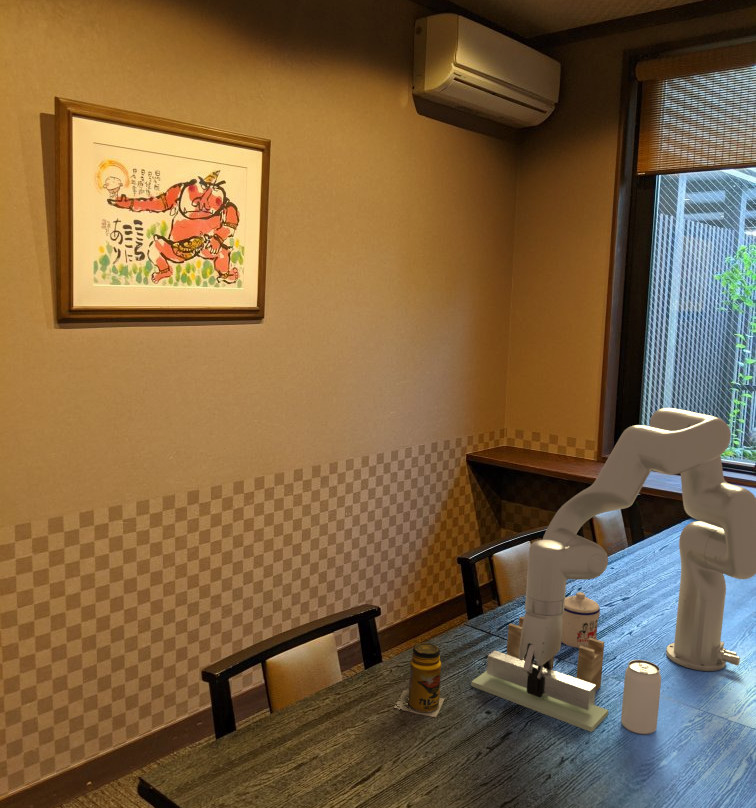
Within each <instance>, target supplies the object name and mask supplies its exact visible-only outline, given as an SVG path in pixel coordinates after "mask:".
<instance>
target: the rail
mask: <svg viewBox="0 0 756 808" xmlns="http://www.w3.org/2000/svg"><path fill="white" fill-rule="evenodd" d="M524 663H525V661H524V660H520V659H518V658H515V657H512V656H509V655H507V653H503V652H500V651H498V650H494V651H492V652H491V653H489V654H488V655H487V663H486V667H487V668H486V671H487V674H489V675H492V676H494V677H497V678H500V679H503V680H505V681H508V682H511V683H514V684H516V685H519V686H522V687H525V688H527V679H528V675H527V672H526V671H524V670H523V667H524ZM533 667H534V668H536V669H537V670H538V666H536V665H533ZM542 678H544V682H543V694H544V695H547V696H549V697H552V698H555V699H558V700H560V701H563V702H566V703H569V704H571V705H574V706H577V707H580V708H582V709H585V710H589V709H590V708H591V707H592V706H593V705H595V701H596V700H595V699H596V698H595V697H596V691H595V689H596V685H594V684H592V683H589V682H586V681H583V680H580V679H577V678H576V677H573V676H571V675H569V674H568V675H567V674H565V673H562V672H559V671H556V670H554V669H552V670H551V669H548V668H545V667H543V672H542Z"/></svg>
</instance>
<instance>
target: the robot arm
mask: <svg viewBox="0 0 756 808" xmlns="http://www.w3.org/2000/svg"><path fill="white" fill-rule="evenodd" d="M730 429H731V428H730V427H729V425H728V423H727V422H726V421H724V420H723V419H722V418H720V417H717V416H713V415H709V414H705V413H698V412H695V411H690V410H685V409H679V408H674V407H661V408H660V409H657V410H656V411H654V412H653V413H652V415H651V418H650V424H649V425H643V424H642V425H641V424H636V425H632V426H631V425H630V426H629V427H627V428H626V429H624V430H623V432H622V433H621V435H620V437H619V438H618V440H617V442H616V444H615V445H614V447H613V449H612V451H611V453H610V454H609V456H608V458H607V460H606V461H605V463H604V465H603V467H602V468H601V470H600V472H599V474H598V475H597V477H596V479H595V480H594V482H592V484H591V485H590V486H588V487H587V488H585V489H583V490H582V491H580V492H579V493H577V494H576V495H574V496H573V497H571V498H570V499H569V500H567V501H566V502H565V503H564V504H562V505H561V507H560V508H559V509H558V510H557V512H556V513H555V515H554V516H553V517H552V519H551V521H550V523H549V524H548V526H547V529H546V530H545V533H544V535H543V537H542V539H538V540H535V541H533V542H532V543H531V544H530V546H529V549H528V557H527V558H528V561H527V574H526V589H525V590H526V592H525V603H524V610H525V611H526V612H525V613H524V616H523V617H524V620H523V625H522V631H521V639H520V647H519V659H520V660H524V659H526V660H525V663H524V667H523V670H524V671H526V672H527V675H528V679H527V693H529V694H531V695H534V696H537V697H542V696H543V682H544V678H542V672H543V667H545V668H548V669H551V670H554V659H555V657H556V655H558V653H559V652H560V650H561V647H562V642H561V640H562V615H563V614H564V606H565V598H566V590H567V581H568V580H585V581H587V580H592V579H596V578H598V577H600V576H601V575H603V574H604V573H605V571H606V569H607V567H608V564H609V558H608V557H609V556H608V553H607V551H606V550H605V549H604V548H603V547H602V546H601V545H600V544H598V543H597V542H594V541H593V540H590V539H587V538H586V537H583V536H581V535H578V534H577V533H578V532H579V530H580V529H581V527H582V526H583V525H584V524H586V522H587V521H589V520H590V519H591V518H593V517H595V516H598V515H600V514H604V513H607V512H613V511H618V510H622V509H623V510H624V509H627V508H629V507H631V506H632V505H633V504H634V502H635V500H636V499H637V497H638V495H639V493H640V492H641V490H642V488H643V486H644V484H645V483H646V480H647V479H648V477H649V476H650V474H651V472H652V471H654V472H656V473H661V474H664V475H671V476H672V475H677V474H680V480H681V493H682V494H681V495H682V502H683V503H682V505H683V509H684V511H685V513H686V514H687V515H688V516H689V517H691V518H693V519H695V521H691V522H689V523H688V524H686V525H685V526H684V527H683V529H682V530H681V532H680V536H679V539H678V540H679V541H678V548H679V549H678V550H679V556H680V582H679V591H678V601H677V612H676V621H675V622H676V623H675V633H674V642H673V643H670V644H668V645H667V646H666V651H665V653H666V655H667V656H666V657H668V658H669V660H671V661H672V662H674V663H675V664H677V665H680V667H681V666H682V667H684V668H688V669H692V670H694V671H695V670H697V671H703V672H714V671H719V670H722V669H723V668H725V667H726V664H727V663H729V664H731V665H734V666H739V665H740V662H741V657H740V656H738V654H737V652H736V651H731V650H728V649H727V648H726V647H725V646H724V645H725V642H724V641H722V640H721V639H722V630H723V623H724V622H723V621H724V614H725V613H724V611H725V603H726V594H727V584H726V579H725V576H728V577H730V578H734V579H737V580H749V579H751V578H753V577H755V575H756V496H755V494H754V493H753V492H752V491H750V490H749V489H747V488H745V487H742V486H738V485H735V484H731V483H728V482H727V481H726V480H725V476H724V471H723V469H724V468H723V464H722V456H721V455H722V454H723V453H725V451H726V450H727V448H728V447H729V445H730V442H731V439H732V438H731V437H732V435H731V434H732V433H731V430H730ZM696 520H697V521H696ZM724 575H725V576H724ZM724 647H725V648H724ZM533 665H536V666H538V670H537V669H536V668H534V667H533Z"/></svg>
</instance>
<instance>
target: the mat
mask: <svg viewBox="0 0 756 808" xmlns="http://www.w3.org/2000/svg"><path fill="white" fill-rule="evenodd" d="M470 686H471V687H473V688H475V689H478V690H481V691H483V692H486V693H488V694H491V695H494V696H496V697H499V698H501V699H504V700H506V701H509V702H512V703H514V704H517V705H519V706H522V707H525V708H528V709H530V710H533V711H536V712H538V713H540V714H543V715H545V716H548V717H551V718H554V719H557V720H558V721H562V722H564V723H567V724H570V725H572V726H574V727H578V728H580V729H582V730H585V731H587V732H590V733H593V732H594V730H595V729H596V728H597V727H598V726H599V725H600V724H601V723H602V722H603V721H604V720H605V719H606V718H607V717H608V715H609V709H606V708H603V707H601V706H598V705H596V704H594V705H593V706H592V707H591V708H590V709H589V710H585V709H582V708H580V707H577V706H574V705H571V704H569V703H566V702H563V701H560V700H558V699H555V698H552V697H549V696H547V695H544V694H543V696H542V697H537V696H534V695H531V694H529V693H527V688H525V687H522V686H519V685H516V684H514V683H511V682H508V681H505V680H503V679H500V678H497V677H494V676H492V675H489V674H487V670H485V671H484V672H483V673H482V674H480V675H478V676H477V677H476V678H474V679H473V680H471V685H470Z"/></svg>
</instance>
